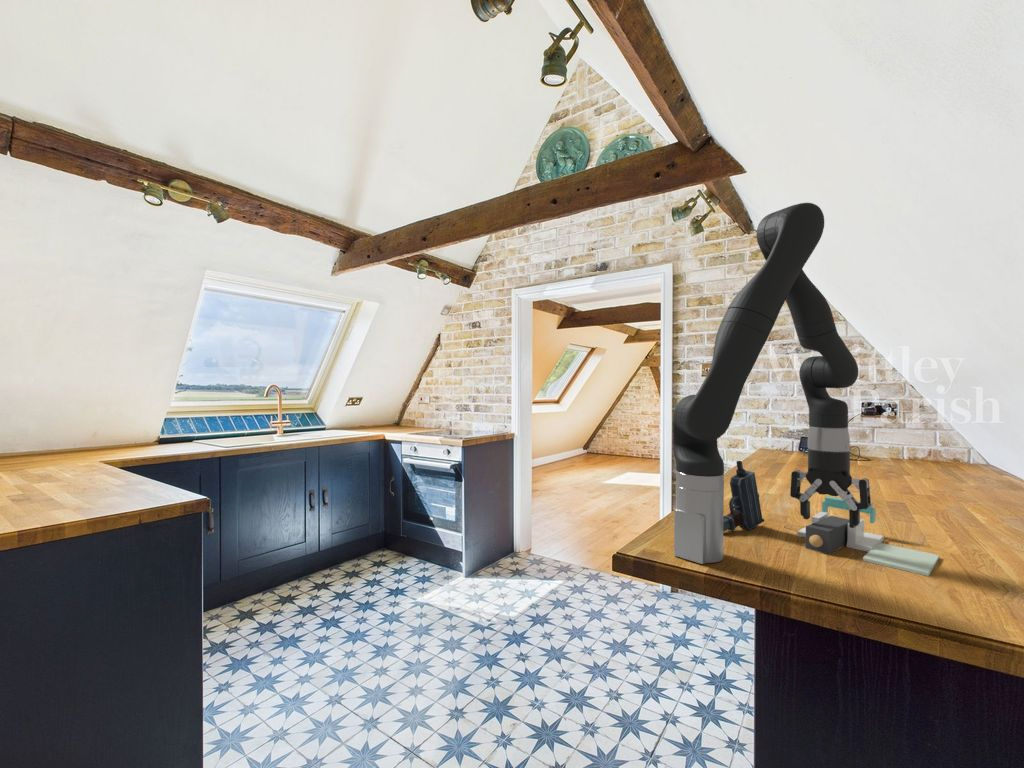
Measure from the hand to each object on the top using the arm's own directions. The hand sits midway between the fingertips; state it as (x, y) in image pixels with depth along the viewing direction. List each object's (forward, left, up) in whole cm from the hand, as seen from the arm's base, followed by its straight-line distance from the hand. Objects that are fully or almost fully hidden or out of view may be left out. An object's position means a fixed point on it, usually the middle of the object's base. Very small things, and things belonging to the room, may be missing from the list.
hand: (828, 522), depth 100 cm
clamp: (+11, +1, -6) cm, 12 cm away
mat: (+5, -11, -6) cm, 14 cm away
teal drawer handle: (+18, +1, -2) cm, 18 cm away
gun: (-1, +19, -6) cm, 20 cm away
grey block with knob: (+4, +1, -6) cm, 7 cm away
